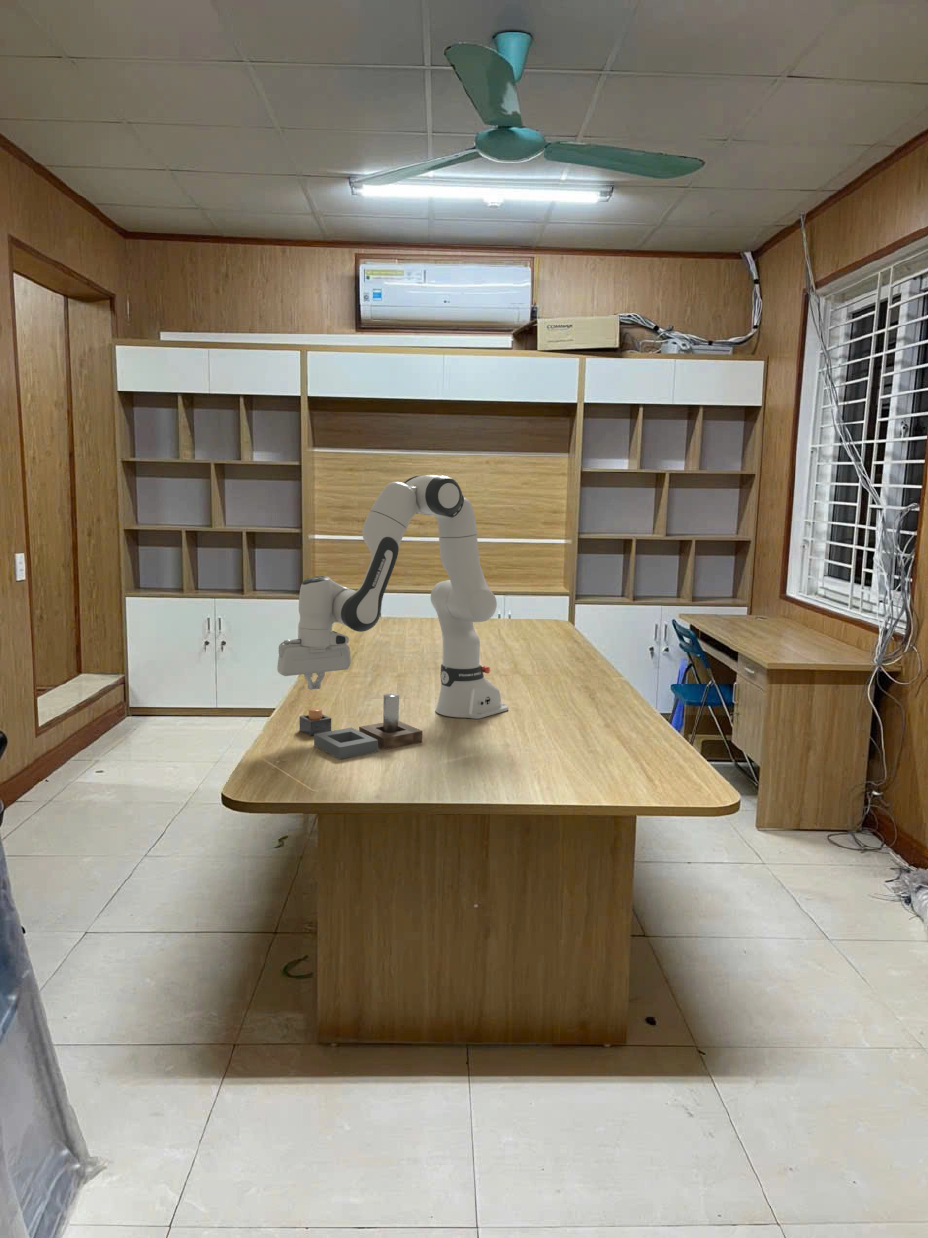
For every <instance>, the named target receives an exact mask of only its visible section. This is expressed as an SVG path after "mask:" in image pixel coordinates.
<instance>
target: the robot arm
mask: <svg viewBox="0 0 928 1238" xmlns="http://www.w3.org/2000/svg"><path fill="white" fill-rule="evenodd" d="M462 492H463V491H462V488H461V487H460V485H459V482H457V481H456V480H454V479H453V478H452V477H450V476H447V475H437V474H426V475H421V476H420V475H415V476H412V477H410V478H408V479H406V480H405V481H403V482H401V481H392V482H389V483H387V484H386V485H385V487H383V489H382V490H381V492H380V494H379V495H378V496H377V498H376V499H375V501H374V502H373V505H372V506H371V508H370V510H369V512H368V514H367V516H366V518H365V521H364V524H363V526H362V531H361V533H362V539H363V541H364V544H365V545H366V546H367V548H368V550H369V553H370V562H369V564H368V566H367V569H366V572H365V575H364V577H363V579H362V583H361V585H360V587H359V588H358V589H357V590H355V589H353V588H349V587H345V586H343V585H341V584H339V583H337V582H336V581H334V580H333V579H331V578H330V576H326V575H324V576H323V575H321V576H319V575H318V576H313V577H309V578H306V579H304V580H303V581H302V583H301V585H300V588H299V589H300V590H299V597H298V613H299V622H298V625H297V627H298V628H297V629H298V630H297V631H298V633H297V634H298V635H297V638H296V639H285V640H283V641H282V642H281V643H280V644H279V645H278V658H277V667H276V668H277V669H276V670H277V672H278V673H279V675H281V676H284V677H290V676H299V675H303V677H304V679H305V680H306V682H307V689H308V690H310V691H311V690H319V689H321V687H322V686H321V685H322V684H321V683H322V681H323V679H324V678H325V674H326V673H329V672H337V671H345V670H348V669H350V667H351V648H350V646H349V645H348V644H349V640H350V637H349V636H348V635H345V634H342V633H339V632H337V631H334V630H333V625H334V624H335V623H339V624H341V625H343V626H345V627H348V628H350V629H351V630H353V631H355V632H359V633H361V632H367V631H370V630H371V629H372V628H374V626H376V625H377V623H378V622H379V620H380V618H381V614H382V604H383V603H382V602H383V599H384V598H383V597H384V595H385V592H386V590H387V586H388V584H389V581H390V579H391V576H392V572H393V570H394V568H395V564H396V562H397V559H398V556H399V549H400V545H401V543H402V540H403V537H404V535H405V533H406V531H407V528H408V526H409V525H410V522H411V520H412V518H413V517H414V516H415V515H416V514H420V515H426V516H432V515H433V516H434V517H435V519H436V522H437V525H438V543H439V544H438V545H439V553H440V554H439V556H440V563H441V565H442V567H443V568H444V571H446V574H447V576H448V578H449V579H447V580H443V581H441V580H440V581H439V582H438V583H436V584H435V585H434V586H433V588H432V589H431V591H430V602H431V605H432V607H433V608H434V610H435V612H436V614H437V618H438V622H439V627H440V631H441V638H442V656H441V657H442V658H441V659H442V660H441V661H442V663H441V664H440V673H439V674H440V690H439V696H438V701H437V704H436V707H435V712H436V713H437V714H439V715H442V716H445V717H449V718H450V717H451V718H465V719H467V718H469V719H474V720H475V719H482V718H485V717H489V716H493V715H496V714H500V713H502V712H506V711H509V705H507V704H505V702H504V703H503V702H501V701H502V697H501V693H500V690H499V688H498V687H496V686H495V685H494V684H493V683H492V682H490V681H489V680H488V679H487V678H486V677H485V676H484V674H490V672H491V668H490V667H489V666H486V665H483V666H482V665H481V664H480V659H481V658H480V657H481V655H480V654H481V651H480V650H481V639H480V636H479V635H478V633H477V632H476V629H475V626H474V623H483V622H487V621H489V620H490V619H491V618H493V616H494V615H495V613H496V611H497V606H498V602H497V598H496V595H495V594H494V593H493V592H492V590H491V588H490V587H489V585H488V583H487V580H486V578H485V575H484V571H483V568H482V566H481V562H480V561H481V560H480V556H479V543H478V532H477V531H478V530H477V522H476V517H475V512H474V508H473V505H472V503H471V501H470V499H468V498H466V497H464V495H463V493H462ZM313 674H316V679H315V681H313V680H312V678H313Z"/></svg>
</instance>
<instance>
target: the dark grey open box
mask: <svg viewBox="0 0 928 1238" xmlns="http://www.w3.org/2000/svg"><path fill="white" fill-rule="evenodd" d="M299 731H300V732H301V733H303V734H305V735H307V736H308V737H314V734H317V733H323V732H329V731H332V717H329V716H328V715H325V714H324V713H322V719H318V720H310V719H309V714H306V715H300V716H299Z"/></svg>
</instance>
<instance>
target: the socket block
mask: <svg viewBox="0 0 928 1238" xmlns="http://www.w3.org/2000/svg"><path fill="white" fill-rule="evenodd" d="M358 731H360V732H362V733H364V734H366V735H368V736H371V737H373V738H375V739H377V740H378V749H381V750H389V749H394V748H399V747H405V746H409V745H413V744H414V745H415V744H421V743H423V733H424V732H423V730H421V729H419V728H416V727H415V726H413V725H409V724H407V723H405V722H403V721H400V720H398V732H393V733H385V732H383V722H379V723H374V724H368V725H362V726H358Z"/></svg>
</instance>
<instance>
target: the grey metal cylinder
mask: <svg viewBox="0 0 928 1238" xmlns="http://www.w3.org/2000/svg"><path fill="white" fill-rule="evenodd" d="M399 699H400V695H399V694H396V693H386V694H384V695H383V704H382V705H383V709H382V710H383V711H382V712H383V713H382V714H383V717H382V720H383V721H382V723H383V732H385V733H393V732H398V721H399V717H400V716H399V710H400V707H399V706H400V703H399V702H400V701H399Z"/></svg>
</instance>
